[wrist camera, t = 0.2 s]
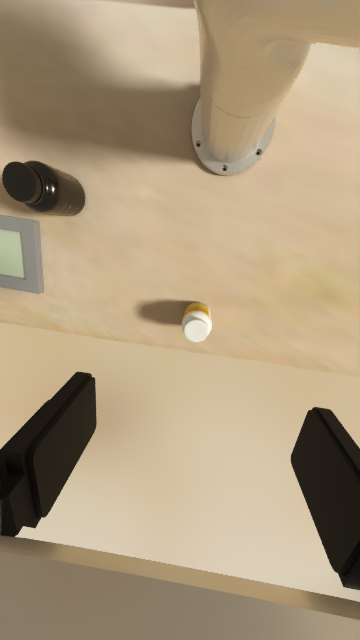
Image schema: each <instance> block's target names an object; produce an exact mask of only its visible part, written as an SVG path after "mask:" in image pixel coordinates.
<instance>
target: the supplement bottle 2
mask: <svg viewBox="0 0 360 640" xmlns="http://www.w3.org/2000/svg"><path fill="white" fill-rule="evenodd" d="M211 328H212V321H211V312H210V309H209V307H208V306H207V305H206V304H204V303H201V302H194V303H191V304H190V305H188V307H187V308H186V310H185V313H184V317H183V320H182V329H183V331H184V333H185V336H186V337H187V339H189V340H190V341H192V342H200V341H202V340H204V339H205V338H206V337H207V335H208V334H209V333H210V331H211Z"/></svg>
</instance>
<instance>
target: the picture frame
mask: <svg viewBox="0 0 360 640" xmlns="http://www.w3.org/2000/svg"><path fill="white" fill-rule="evenodd" d="M0 287H3V288H9V289H15V290H20V291H26V292H32V293H38V294H39V293H42V292H44V286H43V271H42V256H41V241H40V226H39V221H35V220H29V219H23V218H16V217H10V216H4V215H0Z"/></svg>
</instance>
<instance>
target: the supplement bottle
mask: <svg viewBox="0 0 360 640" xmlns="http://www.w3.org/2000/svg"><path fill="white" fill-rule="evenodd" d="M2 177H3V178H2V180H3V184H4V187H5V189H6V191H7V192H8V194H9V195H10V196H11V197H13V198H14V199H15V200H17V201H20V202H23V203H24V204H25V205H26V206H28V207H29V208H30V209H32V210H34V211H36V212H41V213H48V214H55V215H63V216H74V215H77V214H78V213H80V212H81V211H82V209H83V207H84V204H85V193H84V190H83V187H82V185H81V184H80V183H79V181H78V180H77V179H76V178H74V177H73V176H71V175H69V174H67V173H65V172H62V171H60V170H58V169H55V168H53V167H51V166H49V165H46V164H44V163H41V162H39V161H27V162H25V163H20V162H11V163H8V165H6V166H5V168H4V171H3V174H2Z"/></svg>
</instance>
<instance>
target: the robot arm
mask: <svg viewBox="0 0 360 640" xmlns="http://www.w3.org/2000/svg"><path fill="white" fill-rule="evenodd" d="M194 3H195V7H196V12H197V17H198V25H199V40H200V87H201V97H200V99H199V100H198V102H197V105H196V107H195V110H194V113H193V118H192V128H191V133H192V141H193V146H194V149H195V152H196V154H197V156H198V158H199V160H200V161H201V162H202V163H203V165H204V166H205V167H206V168H208V169H209V170H210V171H212V172H214V173H217V174H220V175H225V176H230V175H236V174H240V173H242V172H245V171H247V170H248V169H250V168H251V167H252V166H254V165H255V164H256V163H257V162H258V161H259V160H260V159H261V157H262V156H263V155H264V153H265V151H266V150H267V148H268V146H269V144H270V142H271V139H272V136H273V132H274V128H275V115H276V113H277V111H278V110H279V108H280V106H281V104H282V103H283V101H284V99H285V98H286V96H287V94H288V93H289V91H290V89H291V87H292V85H293V84H294V82H295V80H296V78H297V77H298V75H299V73H300V71H301V69H302V67H303V65H304V62H305V60H306V57H307V55H308V51H309V48H310V45H311V43H312V44H315V43H317V42H318V43H325V44H331V45H338V46H345V47H352V48H358V49H360V0H194ZM198 144H200V147H197V145H198ZM257 152H258V153H259V155H257V154H256V153H257ZM223 168H225V169H226V171H223ZM95 429H96V393H95V378H94V377H92V375H91V374H90V373H84V372H76V373H75V374H74V375H73V376H72V377H71V379H70V380H69V381H68V382H67V383H66V384H65V385H64V386H63V387H62V388H61V389H60V390H59V391H58V392H57V393H56V394H55V395H54V396H53V397H52V398H51V399H50V400H48V401H47V402H46V403H45V404H44V405H43V406H42V407H41V408H40V409H39V410H38V411H37V412H36V413H35V414H34V415H33V416H32V417H31V418H30V419H29V420H28V421H27V422H26V423H25V424H24V426H22V428H21V429H20V430H19V431H18V432H17V433H16V434H15V435H14V436H13V437H12V438H11V439H10V440H9V441H8V442H7V443H6V444H5V445H4V446H3V447H2V448H1V449H0V640H360V602H357V601H352V600H348V599H343V598H339V597H334V596H328V595H324V594H319V593H314V592H309V591H304V590H299V589H294V588H289V587H284V586H279V585H273V584H269V583H264V582H258V581H254V580H248V579H243V578H238V577H233V576H228V575H223V574H218V573H213V572H207V571H202V570H197V569H192V568H187V567H181V566H176V565H171V564H166V563H160V562H155V561H150V560H145V559H139V558H134V557H129V556H123V555H118V554H113V553H107V552H102V551H97V550H91V549H85V548H81V547H75V546H69V545H63V544H56V543H51V542H45V541H39V540H33V539H26V538H18V537H15V536H16V535H18V533H19V532H20V530H21V528H22V527H23V526H26V527H31V528H36V526H37V524H38V522H39V521H40V519H41V517H46V516H47V515H48V513H49V512H50V510H51V508H52V506H53V504H54V503H55V501H56V499H57V497H58V496H59V494H60V492H61V490H62V489H63V487H64V485H65V483H66V481H67V480H68V478H69V476H70V474H71V473H72V471H73V469H74V467H75V465H76V464H77V462H78V460H79V458H80V456H81V454H82V453H83V451H84V449H85V448H86V446H87V444H88V442H89V441H90V439H91V437H92V435H93V433H94V431H95ZM291 464H292V467H293V469H294V472H295V475H296V477H297V480H298V482H299V485H300V487H301V490H302V493H303V495H304V498H305V500H306V503H307V505H308V508H309V510H310V513H311V516H312V518H313V521H314V523H315V526H316V528H317V531H318V534H319V536H320V539H321V541H322V544H323V546H324V549H325V551H326V554H327V557H328V559H329V562H330V564H331V566H332V568H333V570H334V571H335V572H337V573H338V574H339V577H340V579H341V582H342V584H343V587H346V588H351V589H357V590H360V448H359V447H358V446H357V445H356V443H355V442H354V440H353V439H352V438H351V436H350V435H349V434H348V432H347V431H346V430H345V429H344V427H343V426H342V424H341V423H340V422H339V420H338V419H337V418H336V416H335V415H334V414H333V412H332V411H331V410H329V409H324V408H318V407H314V408H313V409H312V410H309V411H308V412H307V415H306V418H305V420H304V423H303V426H302V428H301V431H300V433H299V436H298V439H297V441H296V444H295V447H294V449H293V452H292V454H291Z"/></svg>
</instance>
